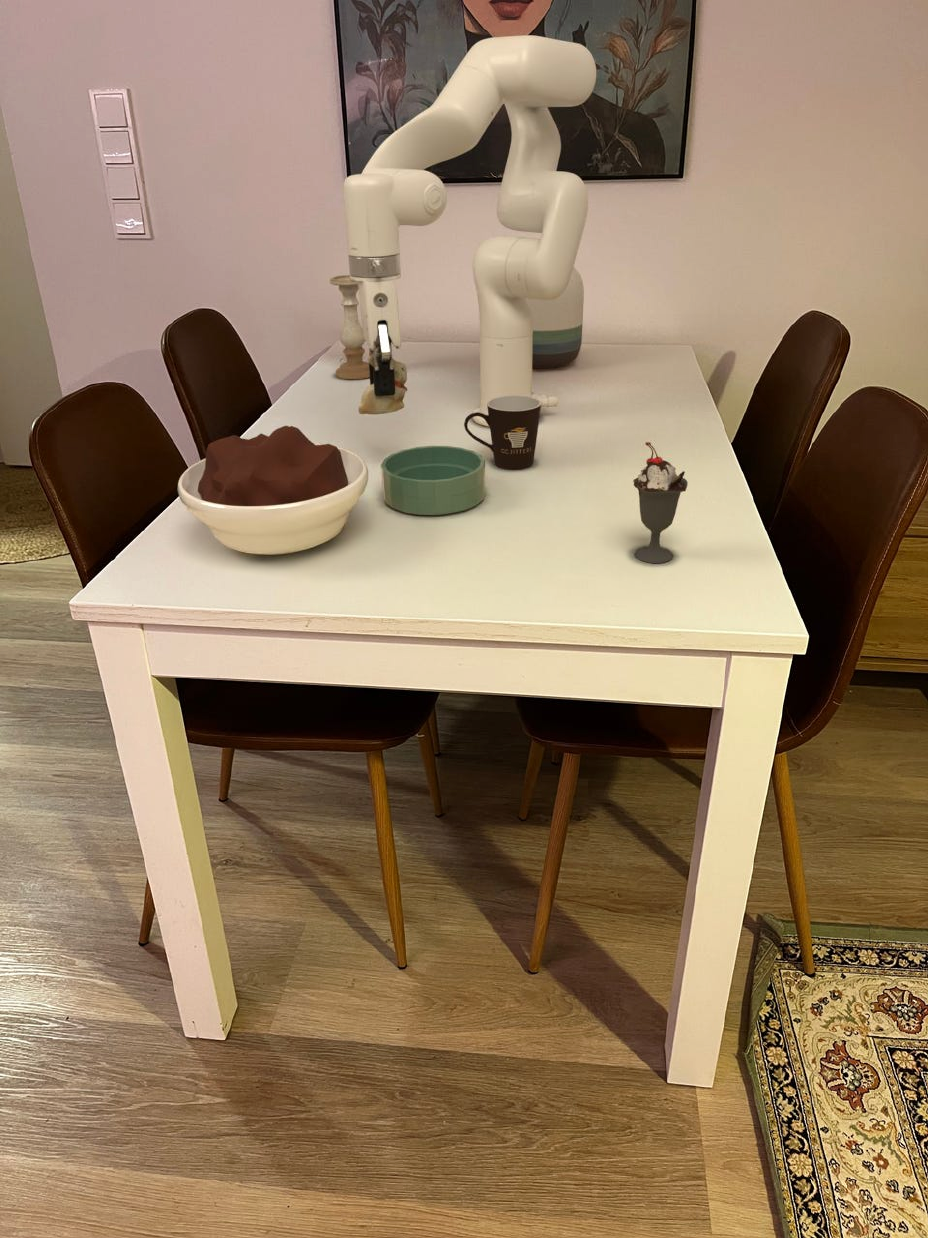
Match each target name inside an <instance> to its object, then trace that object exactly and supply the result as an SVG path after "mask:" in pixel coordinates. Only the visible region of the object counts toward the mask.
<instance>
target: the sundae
mask: <svg viewBox="0 0 928 1238" xmlns="http://www.w3.org/2000/svg"><path fill="white" fill-rule="evenodd" d="M645 445H646V446H647V447H649V448H650V451H651V455H650V458H647V459H646V461H645V463H646V466H644V468H642V469H641V470H640V473H639V474H638V475H637V476H638V477H636V478H634V479H633V481H632V482H633V486H634V488H636V489H637V491H638V499H639V500H638V501H639V514H640V521H641V523H642V524H643V525H644V527H645V528H647V530H649V531H650V539H649V544H648V545H646V546H645V545H644V546H640V547H638V548H637V549H636V550H634V553H633V555H634V556H635V558H636V559H638V560H639V561H641V562H644V563H648V564H665V563H667V562H669V561H671V560H672V559H673V558H674V554H673V552H672V551H671V550H670V549H668V548H666V547H663V546H661V543H660V541H661V540H660V538H661V533H662V532H663V531H665V530H667V529H668V528H669V527H670V526H671V525H672V524H673V522H674V519H675V516H676V511H677V508H678V503H679V500H680V496H681V493H682V492H686V491H687V488H688V486H689V485H688V483H689V482H688V480H687V479H686V478H685V477H684V475H685V474H686V471H684V470H683V471H682V472H680V473H679V474H677V473H676V467H675V466H673V465H672V463H671V462H669V461H668V460H663V458H662V457H661V456H659V455H658V454H657V451H656V450H655V448H654V446H653V445H652V442H650V441H649V442H648V441H646V442H645ZM654 455H655V457H654Z"/></svg>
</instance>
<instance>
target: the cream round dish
mask: <svg viewBox="0 0 928 1238" xmlns="http://www.w3.org/2000/svg"><path fill="white" fill-rule="evenodd" d="M368 482H369V467H368V465H367V464H366V462H365V460H363V458H362V457H361V456H360V455H358V454H356V453H355V452H353V451H351V450H349V449H345V448H343V447H339V446H336V445H333V444H330V443H317V442H312V441H311V439H309V437H307V436H306V435H305V434H304V433H303V431H302V430H301V429H299V428H298V427H297V426H292V425H290V426H289V425H283V426H281V427H278V428H276V429H275V430H273V431H272V432H271V433H270V434H269V435H266V434H264V433H259V434H258V435H257V436H255V437H254V436H253V437H251V438H249V439H248V438H242V437H241V436H239V435H234V434H232V435H230V436H227V437H223V438H220V439H217V440H215V441H212V442H210V443H208V445H207V448H206V449H205V458H203V459H201V460H199V461H197V462H195V463H194V464H191V466H189V467H188V468H187V469H186V470H184V472H183V473H182V474H181V475H180V477H179V480H178V483H177V488H176V489H177V493H178V496H179V499H180V502H181V503H182V504H183V505H184V507H185V508H186V510H187V511H188V512H190V513H191V514H192V516H194V517H195V518H196V519H197V520H198V521H199V522H201V523H202V524H204V525H206V526H207V527H208V529H209V531H210V533H211V534H212V535H213V537H214V538H215V539H216V540H217V541H218V542H219V543H220V544H221V545H223V546H225V547H227V548H229V549H231V550H235V551H236V552H237V551H238V552H241V553H244V554H245V553H246V554H252V555H262V556H263V555H264V556H269V555H270V556H271V555H284V554H286V555H287V554H291V553H296V552H297V553H298V552H303V551H307V550H309V549H313V548H315V547H318V546H320V545H322V544H324V543H326V542H329V541H330V540H332V539H333V538H334V537H336V536H337V535H338V534H340V533H341V532H342V531H343V529H344V528H345V525H346V523H347V521H348V519H349V515H350V511H351V510H352V509H353V508H354V507H355V506H356V504H357V503H358V502H359V500H360V499H361V497H362V495H363V494H364V492H365V489H366V488H367V485H368Z"/></svg>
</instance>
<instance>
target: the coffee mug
mask: <svg viewBox="0 0 928 1238" xmlns="http://www.w3.org/2000/svg"><path fill="white" fill-rule="evenodd" d="M487 408H488V415H485V414H483V413H479V412H476V413H473V412H472V413H469V415H467V416H466V417H465V419H464V422H463V423H464V424H463V427H464V430H465V432H466V433H467V435H469V436H470V438H471V439H473V440H474V441H476V442H478V443H479V444H481V445H483V446H485V447H487V448H489V449H490V450H491V452H492V455H493V463H494V466H495V467H497V468H499V469H502V470H507V471H521V470H526V469H529V468H531V467H533V465H534V461H535V454H536V446H537V438H538V431H539V422H540V418H541V408H542V407H541V401H540V400H538V399H536V398H533V397H528V396H516V395H514V396H502V397H497V398H493V399H491V400H489V401H488V402H487ZM475 416H479V417H482V418H484V419H485V421H486V422H487V424H488V425H489V426H490V427H489V426H488V427H489V431H490V439H491V443H488V442H487V441H486V440H483V439H481V438H479V437H477V436H476V435H474V434H473V432H471V431H470V429H469V428H468V423H469V421H470V420H471V419H473V417H475ZM539 417H540V418H539Z"/></svg>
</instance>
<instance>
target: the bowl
mask: <svg viewBox="0 0 928 1238" xmlns="http://www.w3.org/2000/svg"><path fill="white" fill-rule="evenodd" d="M380 470H381V471H380V472H381V486H382V497H383V501H384V502H385V504H386V505H388V506H389V507H390V508H392V509H394V510H397V511H400V512H403V513H407V514H414V515H418V516H419V515H420V516H421V515H422V516H428V515H429V516H438V515H445V514H446V515H449V514H454V513H458V512H462V511H467V510H469V509H471V508H473V507H475V506H478V505H479V504H480V503H481V502H482V501H484V499H485V496H486V461H485V459H484V457H483V456H482V455H481V454H479V453H478V452H475V451H474V450H471V449H467V448H464V447H459V446H450V445H424V446H416V447H411V448H406V449H402V450H399V451H396V452H394V453H391V454H390V455H388V456H386V457H385V458H383V460H382V461H381V464H380Z"/></svg>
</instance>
